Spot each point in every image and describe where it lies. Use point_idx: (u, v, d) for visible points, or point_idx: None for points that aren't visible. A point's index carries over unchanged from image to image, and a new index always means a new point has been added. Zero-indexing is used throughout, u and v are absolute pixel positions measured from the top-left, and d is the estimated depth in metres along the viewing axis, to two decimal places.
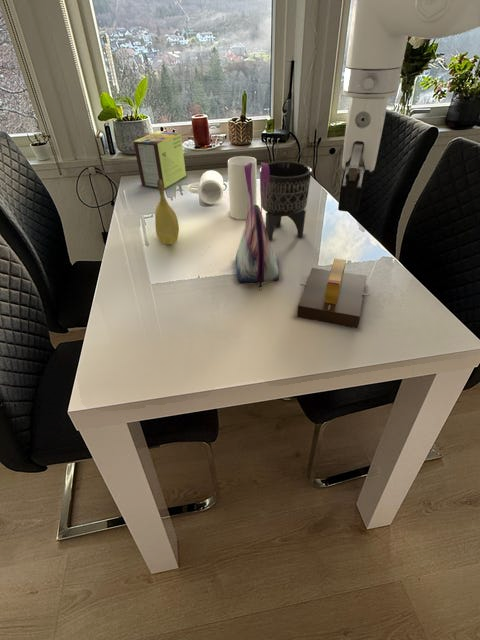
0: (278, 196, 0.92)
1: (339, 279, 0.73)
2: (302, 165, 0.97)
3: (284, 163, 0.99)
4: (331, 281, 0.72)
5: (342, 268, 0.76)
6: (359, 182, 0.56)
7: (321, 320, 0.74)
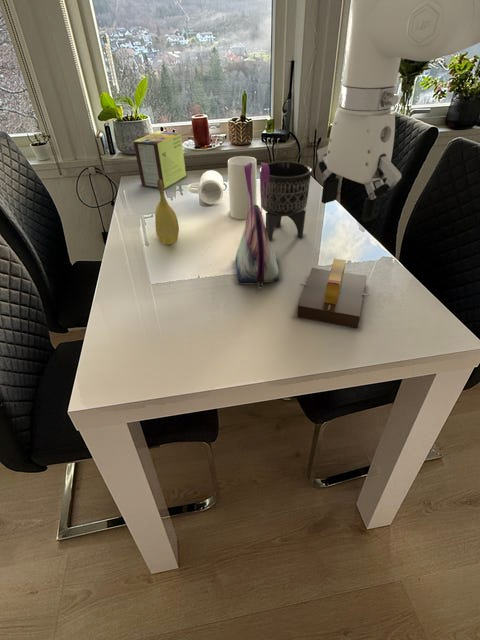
0: (278, 196, 0.92)
1: (339, 279, 0.73)
2: (302, 165, 0.97)
3: (284, 163, 0.99)
4: (331, 281, 0.72)
5: (342, 268, 0.76)
6: None
7: (321, 320, 0.74)
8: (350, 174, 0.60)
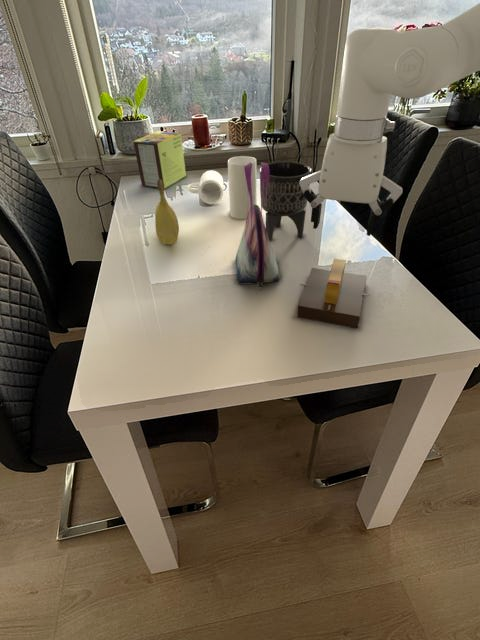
0: (278, 196, 0.92)
1: (339, 279, 0.73)
2: (302, 165, 0.97)
3: (284, 163, 0.99)
4: (331, 281, 0.72)
5: (342, 268, 0.76)
6: None
7: (321, 320, 0.74)
8: (354, 197, 0.63)
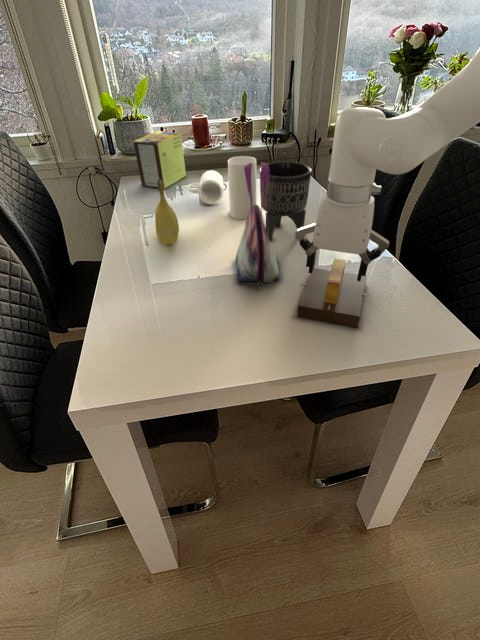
0: (278, 196, 0.92)
1: (339, 279, 0.73)
2: (302, 165, 0.97)
3: (284, 163, 0.99)
4: (331, 281, 0.72)
5: (342, 268, 0.76)
6: None
7: (321, 320, 0.74)
8: (345, 249, 0.69)
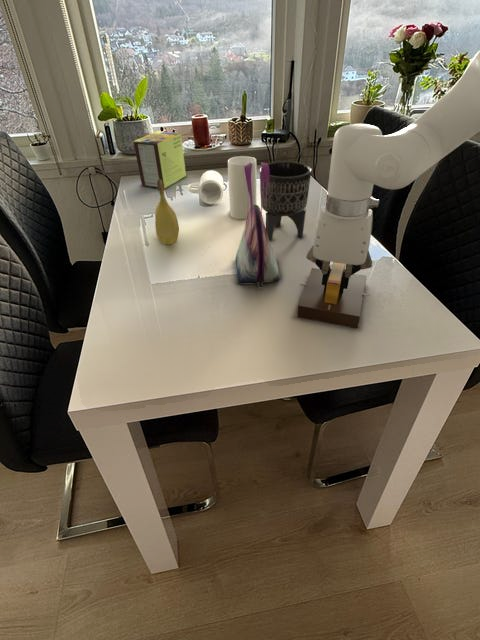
0: (278, 196, 0.92)
1: (339, 279, 0.73)
2: (302, 165, 0.97)
3: (284, 163, 0.99)
4: (331, 281, 0.72)
5: (342, 268, 0.76)
6: None
7: (321, 320, 0.74)
8: (344, 260, 0.71)
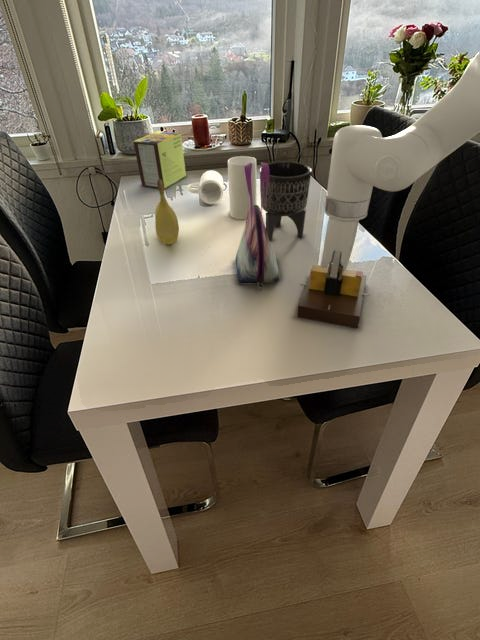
0: (278, 196, 0.92)
1: (352, 271, 0.75)
2: (302, 165, 0.97)
3: (284, 163, 0.99)
4: (359, 274, 0.73)
5: None
6: None
7: (321, 320, 0.74)
8: None
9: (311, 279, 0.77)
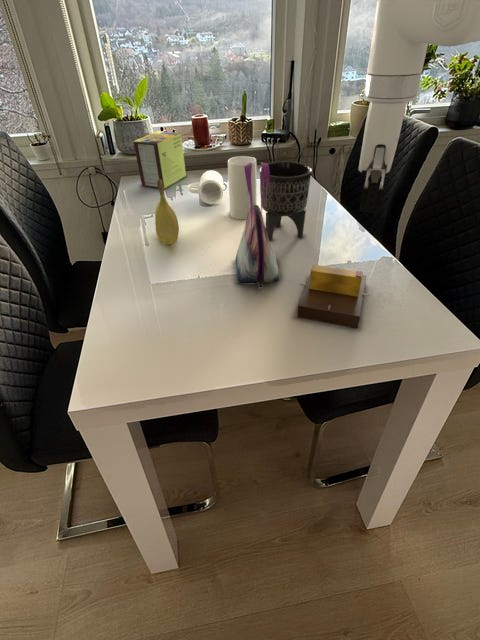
0: (278, 196, 0.92)
1: (352, 271, 0.75)
2: (302, 165, 0.97)
3: (284, 163, 0.99)
4: (359, 274, 0.73)
5: (330, 267, 0.76)
6: None
7: (321, 320, 0.74)
8: None
9: (311, 279, 0.77)
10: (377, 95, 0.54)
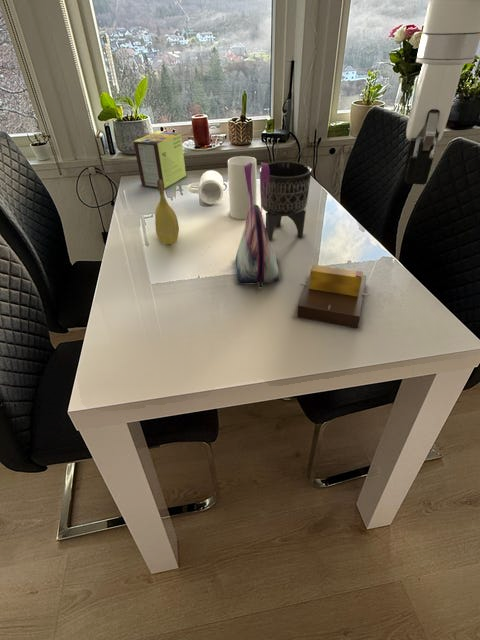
0: (278, 196, 0.92)
1: (352, 271, 0.75)
2: (302, 165, 0.97)
3: (284, 163, 0.99)
4: (359, 274, 0.73)
5: (330, 267, 0.76)
6: None
7: (321, 320, 0.74)
8: None
9: (311, 279, 0.77)
10: (434, 56, 0.51)
